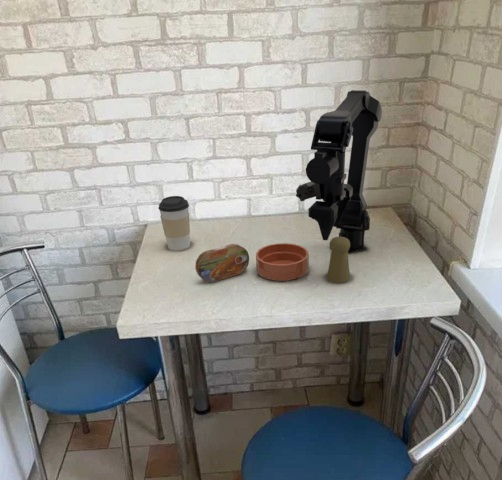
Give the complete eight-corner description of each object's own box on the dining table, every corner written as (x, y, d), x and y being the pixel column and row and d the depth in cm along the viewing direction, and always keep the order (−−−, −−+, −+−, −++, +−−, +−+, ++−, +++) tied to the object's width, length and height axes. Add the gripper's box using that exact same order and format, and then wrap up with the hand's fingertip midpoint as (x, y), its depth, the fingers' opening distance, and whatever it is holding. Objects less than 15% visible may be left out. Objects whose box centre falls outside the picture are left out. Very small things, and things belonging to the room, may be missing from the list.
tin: (200, 285, 140) (196, 256, 136) (195, 281, 143) (192, 252, 138) (250, 271, 146) (249, 243, 141) (245, 267, 148) (243, 239, 144)
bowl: (296, 256, 153) (296, 239, 150) (316, 276, 142) (317, 259, 139) (249, 264, 150) (249, 248, 147) (266, 286, 138) (266, 269, 136)
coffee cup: (158, 250, 162) (151, 202, 154) (173, 238, 169) (166, 192, 160) (185, 253, 159) (178, 204, 150) (198, 241, 166) (193, 194, 157)
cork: (349, 283, 137) (351, 243, 131) (325, 282, 138) (327, 242, 132) (350, 273, 142) (352, 234, 136) (327, 271, 143) (329, 233, 137)
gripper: (311, 159, 136) (311, 217, 145) (287, 180, 122) (288, 243, 131) (354, 161, 132) (351, 221, 141) (334, 184, 118) (332, 249, 127)
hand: (330, 233), depth 135 cm, fingers open, 9 cm apart
